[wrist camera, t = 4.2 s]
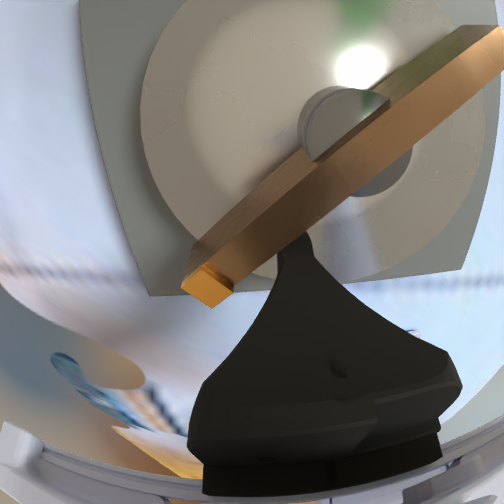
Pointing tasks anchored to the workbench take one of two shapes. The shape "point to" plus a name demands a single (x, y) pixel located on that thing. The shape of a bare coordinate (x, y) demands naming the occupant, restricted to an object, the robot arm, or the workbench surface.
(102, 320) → the workbench surface
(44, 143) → the workbench surface
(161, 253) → the stand plate
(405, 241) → the dial
